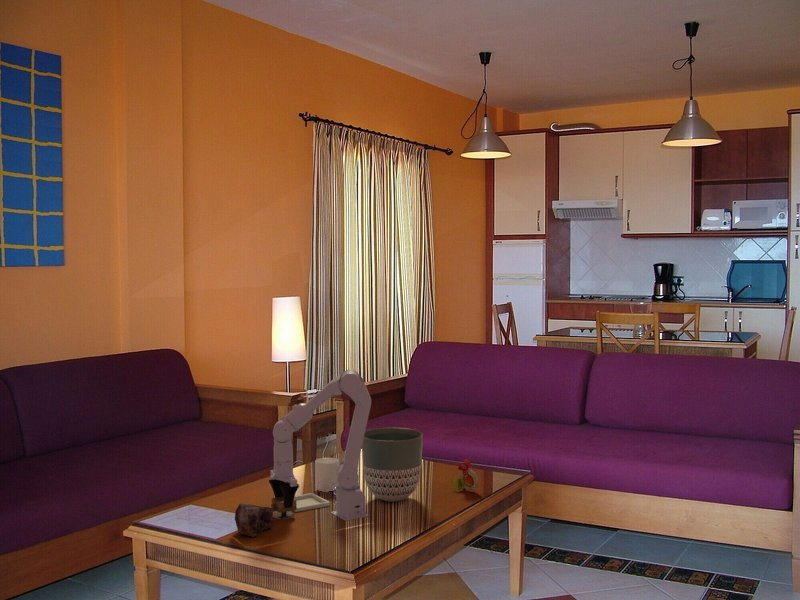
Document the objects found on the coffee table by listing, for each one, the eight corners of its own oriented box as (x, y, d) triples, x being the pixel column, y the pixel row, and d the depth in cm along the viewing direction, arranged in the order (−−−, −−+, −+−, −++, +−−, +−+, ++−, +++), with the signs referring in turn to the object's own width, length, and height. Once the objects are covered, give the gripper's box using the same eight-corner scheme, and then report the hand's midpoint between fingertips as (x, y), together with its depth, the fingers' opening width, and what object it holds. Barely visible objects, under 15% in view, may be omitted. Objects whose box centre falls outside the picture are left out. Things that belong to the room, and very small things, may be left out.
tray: (330, 506, 263) (330, 501, 263) (295, 513, 257) (295, 508, 257) (312, 497, 273) (312, 493, 273) (278, 503, 267) (278, 499, 267)
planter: (351, 495, 275) (351, 431, 274) (405, 487, 284) (405, 425, 283) (378, 512, 258) (377, 443, 256) (434, 503, 267) (433, 436, 266)
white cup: (310, 491, 281) (310, 461, 280) (323, 485, 288) (323, 456, 287) (330, 494, 277) (330, 464, 277) (343, 488, 284) (343, 459, 284)
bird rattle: (477, 496, 282) (457, 481, 286) (489, 468, 278) (468, 454, 283) (467, 500, 277) (447, 485, 282) (478, 472, 273) (457, 457, 278)
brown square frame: (296, 509, 252) (296, 499, 252) (276, 513, 249) (275, 503, 249) (288, 504, 257) (288, 495, 257) (268, 508, 253) (267, 499, 253)
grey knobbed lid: (298, 517, 253) (298, 503, 252) (278, 521, 249) (278, 507, 249) (288, 512, 258) (288, 498, 258) (269, 515, 254) (269, 502, 254)
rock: (276, 535, 241) (251, 527, 246) (279, 505, 241) (254, 498, 247) (247, 540, 231) (222, 532, 237) (251, 509, 232) (225, 502, 237)
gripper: (261, 457, 256) (261, 501, 257) (281, 467, 244) (282, 513, 245) (282, 454, 260) (282, 497, 261) (303, 463, 248) (304, 508, 249)
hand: (284, 504), depth 253 cm, fingers closed on brown square frame, 6 cm apart
